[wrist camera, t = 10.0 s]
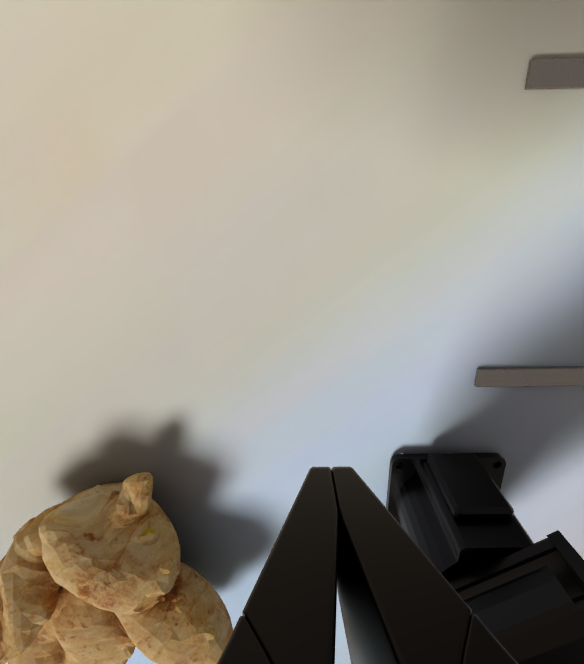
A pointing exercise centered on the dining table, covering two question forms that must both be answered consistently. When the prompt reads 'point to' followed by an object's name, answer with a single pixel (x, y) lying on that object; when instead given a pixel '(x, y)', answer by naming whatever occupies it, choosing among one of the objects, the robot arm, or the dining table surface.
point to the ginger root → (106, 585)
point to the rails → (541, 77)
